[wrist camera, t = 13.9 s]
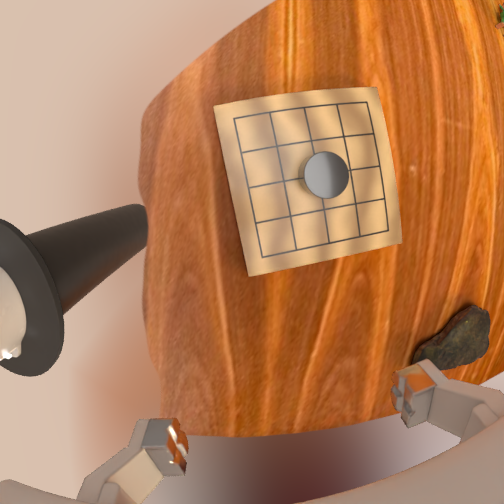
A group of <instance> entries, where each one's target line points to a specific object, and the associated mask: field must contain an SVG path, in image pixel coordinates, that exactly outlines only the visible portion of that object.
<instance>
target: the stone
mask: <svg viewBox="0 0 504 504" xmlns="http://www.w3.org/2000/svg"><path fill="white" fill-rule="evenodd" d="M489 331H490V317H489V313H488V311H487V310H482V309H481V308H478V306H476V305H472V306H469V307H468V308H467V309H465V310H463V311H460V312H459V313H457V314H456V316H455V317H453V318H452V319H451V320H450V322H449V323H448V325H447V326H446V327H445V328H444V329H443V331H442V332H441V333H439V334H437V335H436V336H435V337H433V338H432V339H431V340H430V341H426V342H425V343H423V344H422V345H420V346H419V348H418V349H417V350H416V352H415V355H414V358H413V361H412V365H413V364H416V363H418V362H420V361H422V360H425V359H429V360H430V361H431V362H432V363H433V364H434V365H435V366H436V367H437V368H438V369H439V370H440V371H441V370H447V369H452V368H456V367H457V366H460V365H467V364H470V363H472V362H474V361H476V360H477V359H478V358H481V357H482V356H483V355H484V354H485V353H486V352H487V350H488V347H489V338H488V335H489Z"/></svg>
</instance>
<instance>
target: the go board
mask: <svg viewBox="0 0 504 504" xmlns="http://www.w3.org/2000/svg"><path fill="white" fill-rule="evenodd" d="M213 109H214V114H215V119H216V124H217V129H218V134H219V139H220V143H221V148H222V153H223V158H224V163H225V168H226V172H227V177H228V182H229V187H230V191H231V196H232V201H233V206H234V210H235V215H236V220H237V224H238V229H239V234H240V239H241V243H242V248H243V253H244V257H245V262H246V266H247V271H248V276H249V277H251V276H256V275H261V274H266V273H270V272H275V271H280V270H284V269H289V268H294V267H298V266H303V265H308V264H312V263H317V262H321V261H326V260H330V259H335V258H339V257H344V256H348V255H352V254H357V253H361V252H365V251H370V250H374V249H378V248H383V247H387V246H391V245H395V244H399V243H402V231H401V220H400V210H399V201H398V193H397V186H396V179H395V172H394V166H393V160H392V154H391V148H390V143H389V138H388V133H387V128H386V123H385V119H384V114H383V110H382V106H381V102H380V98H379V94H378V90H377V87H357V88H338V89H324V90H313V91H303V92H294V93H286V94H279V95H272V96H265V97H259V98H253V99H247V100H241V101H236V102H231V103H226V104H221V105H216V106H213ZM322 151H329V152H333V153H335V154H337V155H339V156H340V157H341V158H342V159H343V160H344V161H345V163H346V165H347V167H348V170H349V182H348V185H347V187H346V189H345V190H344V191H343V192H342V193H341V194H340V195H339V196H337V197H335V198H331V199H323V198H319V197H315V196H312V195H310V194H308V193H307V192H305V190H304V189H303V188H302V187H301V185H300V182H299V179H298V170H299V167H300V165H301V163H302V161H303V160H304V159H305V158H306V157H308V156H310V155H312V154H315V153H318V152H322Z"/></svg>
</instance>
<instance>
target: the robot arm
mask: <svg viewBox="0 0 504 504" xmlns="http://www.w3.org/2000/svg"><path fill="white" fill-rule="evenodd" d="M25 331H26V314H25V309H24V305H23V302H22V299H21V296H20V294H19V292H18V290H17V288H16V286H15V284H14V282H13V281H12V279H11V278H10V277H9V275H8V274H7V273H6V272H5V271H4V270H3V269H2V268H1V267H0V361H1V360H2V359H3V358H8V359H9V358H10V357H11V356H12V357H18V356H19V355H20V354H21V341H22V339H23V337H24V335H25ZM392 381H393V383H394V385H393V387H392V388H391V400H392V403H393V406H394V407H395V409H396V410H397V411H400V412H402V413H401V419H402V420H403V422H404V423H405V425H406V426H407V428H410V427H413V426H415V425H418V424H420V423H423V422H425V421H427V422H429V423H431V424H433V425H435V426H437V427H439V428H441V429H443V430H445V431H448V432H450V433H452V434H454V435H456V436H458V437H460V438H461V441H460V443H459V444H458V445H456V446H455V447H452V448H451V449H449V450H447V451H445V452H443V453H441V454H439V455H437V456H435V457H433V458H431V459H429V460H427V461H425V462H423V463H421V464H418V465H416V466H414V467H411V468H409V469H407V470H405V471H402V472H400V473H397V474H395V475H392V476H390V477H387V478H384V479H382V480H379V481H377V482H373V483H371V484H368V485H364V486H361V487H358V488H355V489H352V490H348V491H345V492H342V493H338V494H334V495H331V496H327V497H323V498H319V499H314V500H309V501H305V502H300V503H295V504H504V394H503V393H502V392H501V391H500V390H495V389H491V388H487V387H482V386H479V385H475V384H471V383H467V382H463V381H459V380H455V379H450V380H448V379H447V377H446V376H445V375H444V374H443V373H442V372H441V371H440V370H439V369H438V368H437V367H436V366H435V365H434V364H433V363H432V362H431V361H430V360H429V359H425V360H422V361H420V362H418V363H416V364H413V365H410V366H408V367H405V368H403V369H400V370H397V371H395V372H393V374H392ZM188 449H189V448H188V440H187V437H186V435H185V433H184V432H183V431H181V430H180V423H179V421H178V420H177V419H176V418H158V419H139V420H138V421H137V423H136V425H135V428H134V431H133V434H132V437H131V440H130V442H129V445H128V448H123V449H122V450H121V451H120V452H118V453H117V454H116V455H115V456H113V457H112V458H111V459H109V460H108V461H107V462H106V463H104V464H103V465H101V466H100V467H99V468H98V469H96V470H95V471H94V472H92V473H91V474H89V475H88V476H87V477H86V478H85V479H84V482H83V484H82V486H81V489H80V491H79V494H78V496H77V499H76V500H75V499H71V498H66V497H63V496H59V495H56V494H52V493H48V492H45V491H42V490H39V489H36V488H32V487H30V486H27V485H24V484H22V483H19V482H16V481H13V480H4V481H1V482H0V504H141V503H142V502H143V501H144V500H145V499H146V498H147V496H148V495H149V494H150V493H151V492H152V491H153V490H154V489H155V487H156V486H157V485H158V484H159V483H160V482H161V480H162V479H163V478H164V476H185V471H186V464H187V463H186V461H185V459H184V457H185V456H186V455H187V454H188Z"/></svg>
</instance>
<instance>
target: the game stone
mask: <svg viewBox="0 0 504 504" xmlns="http://www.w3.org/2000/svg"><path fill="white" fill-rule="evenodd" d="M298 179H299V182H300V185H301V187H302V188H303V189H304V190H305V192H307V193H308V194H310V195H312V196H315V197H319V198H323V199H331V198H335V197H337V196H339V195H340V194H341V193H342V192H343V191H344V190H345V189H346V187H347V185H348V182H349V170H348V167H347V165H346V163H345V161H344V160H343V159H342V158H341V157H340V156H339V155H337V154H335V153H333V152H329V151H322V152H318V153H315V154H312V155H310V156H308V157H306V158H305V159H304V160H303V161H302V163H301V165H300V167H299V170H298Z"/></svg>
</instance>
